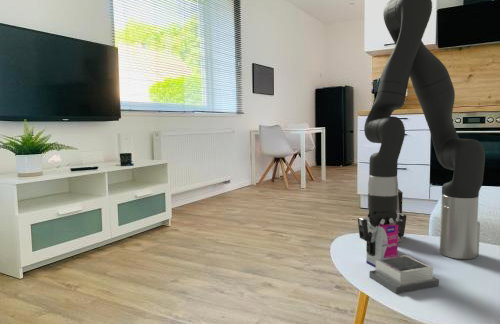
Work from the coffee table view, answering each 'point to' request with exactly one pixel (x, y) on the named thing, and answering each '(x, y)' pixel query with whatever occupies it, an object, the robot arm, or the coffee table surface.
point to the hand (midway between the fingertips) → (381, 253)
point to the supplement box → (384, 243)
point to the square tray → (403, 274)
